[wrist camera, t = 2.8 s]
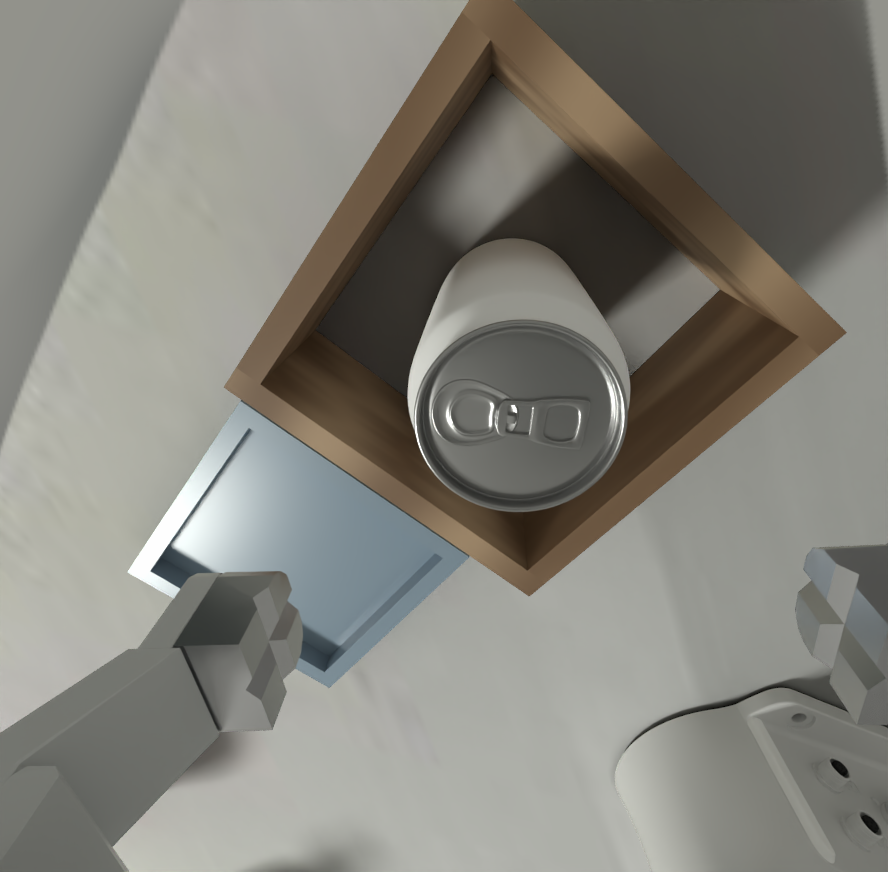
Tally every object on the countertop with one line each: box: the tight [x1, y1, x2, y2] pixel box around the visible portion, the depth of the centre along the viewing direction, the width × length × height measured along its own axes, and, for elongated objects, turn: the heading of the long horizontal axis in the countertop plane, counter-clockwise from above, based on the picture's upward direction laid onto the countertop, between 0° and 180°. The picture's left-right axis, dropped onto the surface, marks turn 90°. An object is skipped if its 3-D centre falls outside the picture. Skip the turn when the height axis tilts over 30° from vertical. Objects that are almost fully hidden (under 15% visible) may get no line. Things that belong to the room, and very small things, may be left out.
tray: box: [128, 400, 469, 688], centre depth 31 cm, size 14×14×2 cm
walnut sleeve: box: [224, 0, 847, 596], centre depth 22 cm, size 15×15×7 cm
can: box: [408, 238, 630, 512], centre depth 20 cm, size 6×6×12 cm
